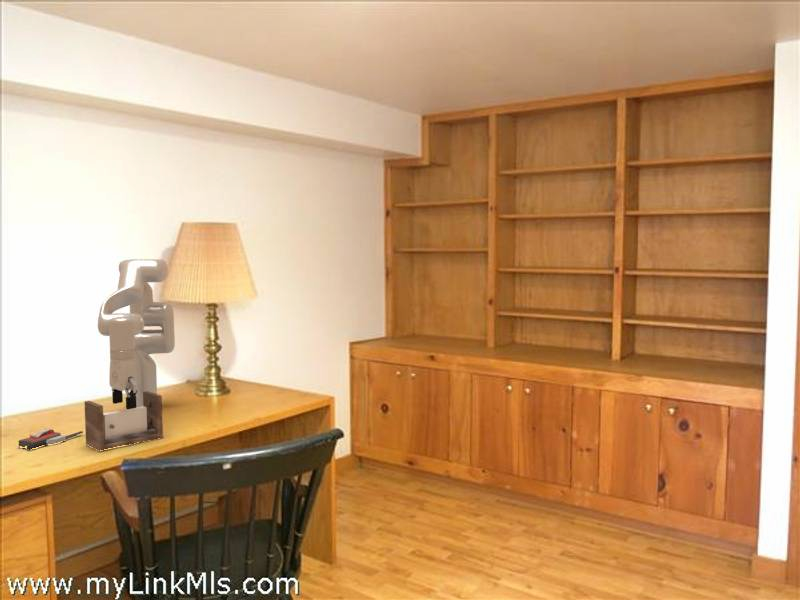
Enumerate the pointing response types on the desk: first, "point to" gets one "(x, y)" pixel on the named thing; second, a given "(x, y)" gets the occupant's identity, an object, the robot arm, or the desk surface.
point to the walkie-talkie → (44, 438)
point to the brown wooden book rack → (154, 431)
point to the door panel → (125, 422)
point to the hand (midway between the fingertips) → (124, 405)
